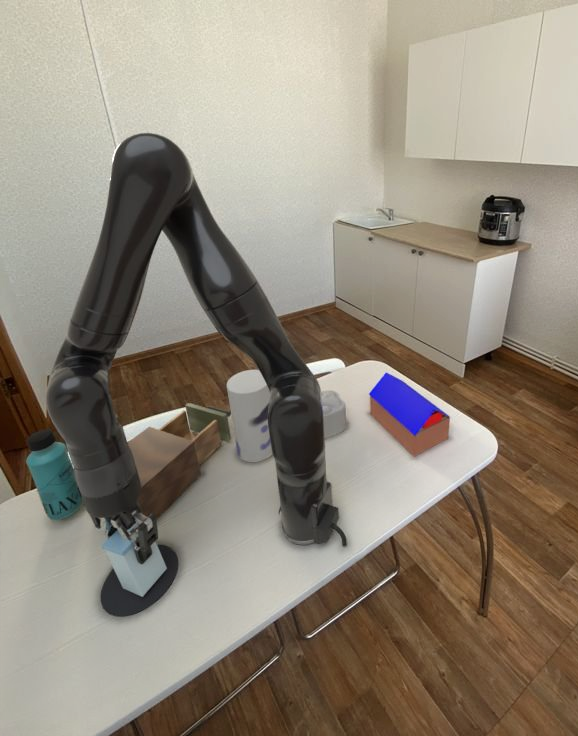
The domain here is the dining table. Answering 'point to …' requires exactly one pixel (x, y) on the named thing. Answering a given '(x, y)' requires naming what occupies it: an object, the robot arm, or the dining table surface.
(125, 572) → the canister
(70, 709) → the dining table surface
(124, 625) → the dining table surface
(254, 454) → the container
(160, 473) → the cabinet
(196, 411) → the drawer
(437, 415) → the house
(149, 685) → the dining table surface
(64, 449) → the beverage bottle
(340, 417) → the lumpy-topped squat cylinder
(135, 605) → the mat
